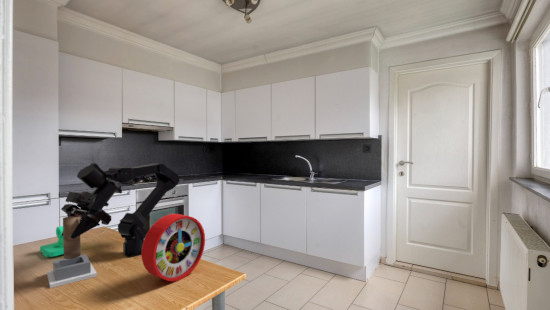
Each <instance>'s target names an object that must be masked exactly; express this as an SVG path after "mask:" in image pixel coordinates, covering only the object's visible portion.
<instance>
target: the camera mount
mask: <svg viewBox="0 0 550 310" xmlns="http://www.w3.org/2000/svg"><path fill="white" fill-rule="evenodd" d="M62 232H63V225H60V226H57V227H56V228H55V234H56V238H58V239H57V241H55V242H53V243H49V244H48V243H47V244H44V245H41V246H39V252H41V253H42V256H44V257H45V258H49V257H58V256H60V255H64V244H63V236H62Z"/></svg>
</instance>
